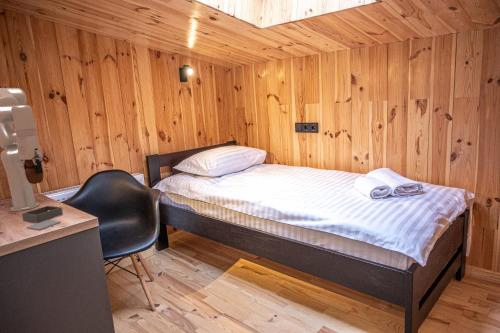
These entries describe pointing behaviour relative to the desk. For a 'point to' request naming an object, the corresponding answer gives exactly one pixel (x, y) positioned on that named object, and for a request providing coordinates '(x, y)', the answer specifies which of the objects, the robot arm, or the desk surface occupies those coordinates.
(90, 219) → the desk surface
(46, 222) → the mat
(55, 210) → the dock
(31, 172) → the wooden figurine
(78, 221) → the desk surface
